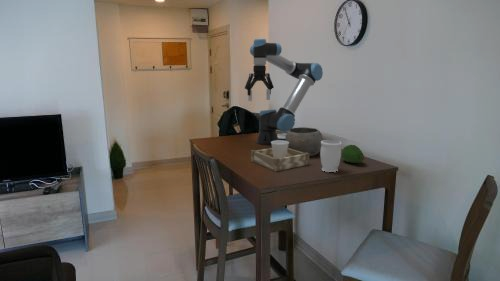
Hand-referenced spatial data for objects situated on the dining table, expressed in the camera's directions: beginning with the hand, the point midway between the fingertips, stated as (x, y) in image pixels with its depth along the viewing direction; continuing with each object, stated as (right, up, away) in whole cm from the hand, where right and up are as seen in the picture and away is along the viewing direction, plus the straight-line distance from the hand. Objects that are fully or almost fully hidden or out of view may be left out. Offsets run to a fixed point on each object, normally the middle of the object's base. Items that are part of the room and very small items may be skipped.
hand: (259, 100), depth 213 cm
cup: (+11, -37, -23) cm, 45 cm away
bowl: (+27, -33, -1) cm, 43 cm away
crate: (+11, -37, -23) cm, 45 cm away
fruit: (+51, -38, -22) cm, 67 cm away
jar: (+35, -40, -36) cm, 65 cm away
